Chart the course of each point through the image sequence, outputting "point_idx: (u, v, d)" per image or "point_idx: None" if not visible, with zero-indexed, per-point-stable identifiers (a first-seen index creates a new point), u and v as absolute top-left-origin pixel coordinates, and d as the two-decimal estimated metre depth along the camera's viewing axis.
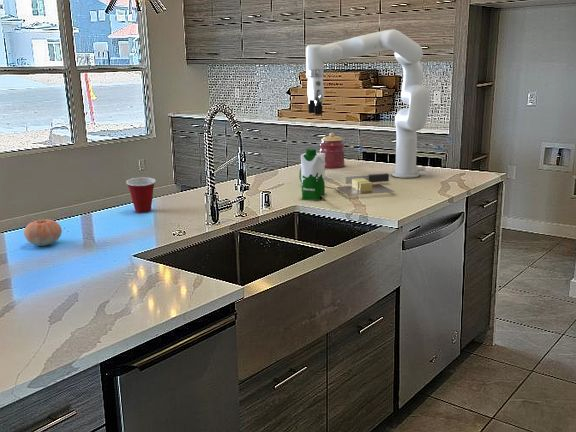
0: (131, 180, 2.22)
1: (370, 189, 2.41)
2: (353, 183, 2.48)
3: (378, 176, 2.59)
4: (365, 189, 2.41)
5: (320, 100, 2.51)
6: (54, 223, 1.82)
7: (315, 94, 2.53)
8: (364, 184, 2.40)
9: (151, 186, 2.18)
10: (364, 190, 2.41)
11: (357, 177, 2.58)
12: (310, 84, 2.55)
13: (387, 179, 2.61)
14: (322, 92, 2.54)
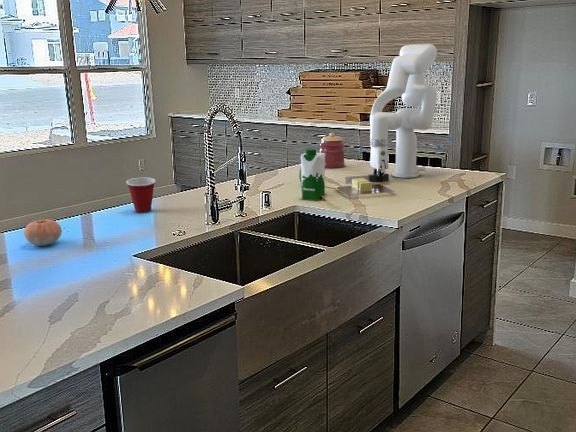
0: (131, 180, 2.22)
1: (370, 189, 2.41)
2: (353, 183, 2.48)
3: None
4: (365, 189, 2.41)
5: None
6: (54, 223, 1.82)
7: (380, 164, 2.54)
8: (364, 184, 2.40)
9: (151, 186, 2.18)
10: (364, 190, 2.41)
11: (357, 177, 2.58)
12: (374, 153, 2.56)
13: (387, 179, 2.61)
14: (387, 161, 2.54)
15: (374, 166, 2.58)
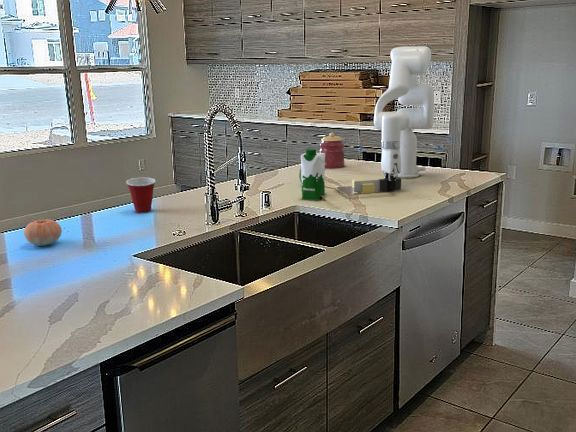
0: (131, 180, 2.22)
1: (373, 190, 2.39)
2: (353, 183, 2.48)
3: None
4: (368, 191, 2.38)
5: None
6: (54, 223, 1.82)
7: (392, 167, 2.35)
8: (367, 185, 2.37)
9: (151, 186, 2.18)
10: (367, 191, 2.38)
11: (367, 182, 2.39)
12: (386, 156, 2.37)
13: (399, 184, 2.42)
14: (399, 165, 2.36)
15: (385, 170, 2.40)
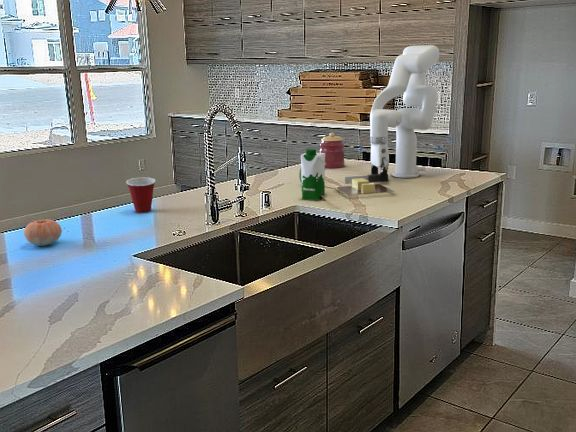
0: (131, 180, 2.22)
1: (373, 190, 2.38)
2: (353, 183, 2.48)
3: (377, 176, 2.59)
4: (368, 191, 2.38)
5: (386, 168, 2.53)
6: (54, 223, 1.82)
7: (380, 161, 2.55)
8: (367, 185, 2.37)
9: (151, 186, 2.18)
10: (367, 191, 2.38)
11: (356, 177, 2.58)
12: (375, 151, 2.57)
13: (387, 179, 2.60)
14: (387, 159, 2.55)
15: (375, 164, 2.59)
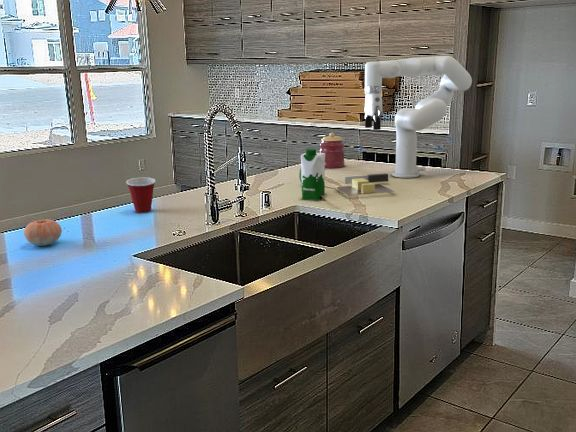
0: (131, 180, 2.22)
1: (373, 190, 2.38)
2: (353, 183, 2.48)
3: (377, 176, 2.59)
4: (368, 191, 2.38)
5: (379, 116, 2.58)
6: (54, 223, 1.82)
7: (374, 110, 2.60)
8: (367, 185, 2.37)
9: (151, 186, 2.18)
10: (367, 191, 2.38)
11: (356, 177, 2.58)
12: (369, 100, 2.62)
13: (387, 179, 2.60)
14: (381, 108, 2.61)
15: (368, 113, 2.64)
